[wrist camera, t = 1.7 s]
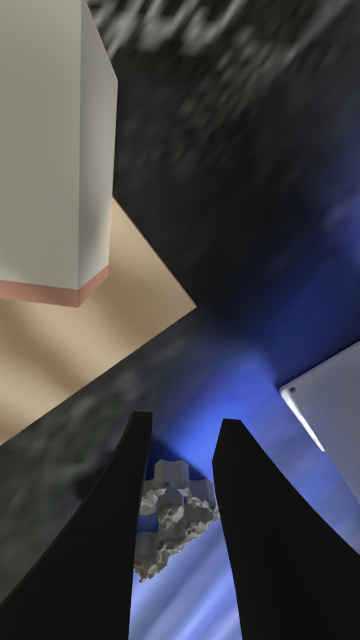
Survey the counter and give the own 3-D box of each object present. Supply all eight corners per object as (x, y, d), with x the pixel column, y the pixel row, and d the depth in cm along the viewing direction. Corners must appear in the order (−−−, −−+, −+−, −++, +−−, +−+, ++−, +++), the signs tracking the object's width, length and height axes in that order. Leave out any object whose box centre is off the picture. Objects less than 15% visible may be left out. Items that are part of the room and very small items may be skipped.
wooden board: (41, 102, 14) (36, 97, 14) (195, 304, 19) (196, 306, 18) (-169, 318, 18) (-179, 321, 18) (0, 442, 23) (-5, 448, 22)
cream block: (107, 276, 17) (117, 80, 14) (77, 308, 12) (81, -11, 8) (34, 266, 17) (24, 62, 13) (-34, 294, 11) (-82, -47, 8)
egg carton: (143, 537, 28) (138, 587, 25) (89, 500, 26) (75, 550, 22) (225, 490, 26) (234, 538, 22) (175, 445, 24) (175, 490, 20)
